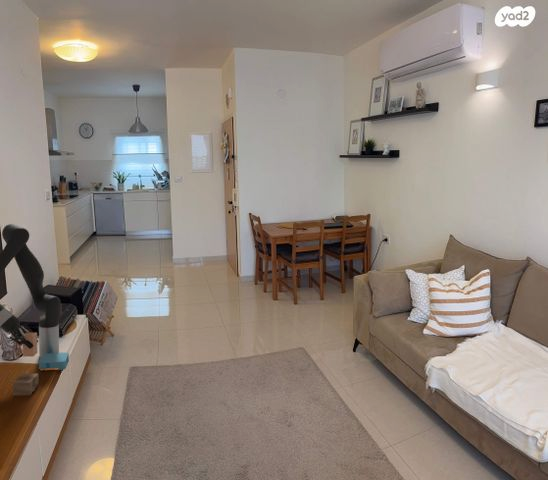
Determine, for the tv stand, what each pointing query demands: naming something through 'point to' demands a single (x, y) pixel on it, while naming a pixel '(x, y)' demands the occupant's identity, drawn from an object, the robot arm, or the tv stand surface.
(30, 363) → the tv stand surface
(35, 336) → the terracotta block
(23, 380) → the grey brown block
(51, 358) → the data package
